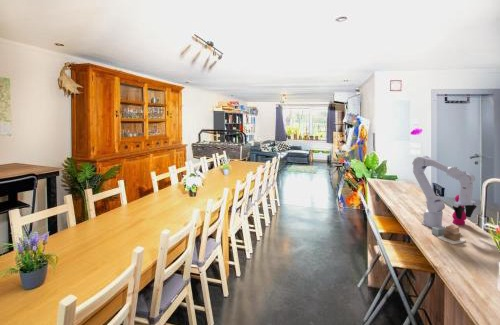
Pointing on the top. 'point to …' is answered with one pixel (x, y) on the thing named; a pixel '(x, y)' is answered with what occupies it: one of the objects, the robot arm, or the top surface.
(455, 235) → the walnut block
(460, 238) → the grey tile
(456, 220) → the pepper mill
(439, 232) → the slate block
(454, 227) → the terracotta block
